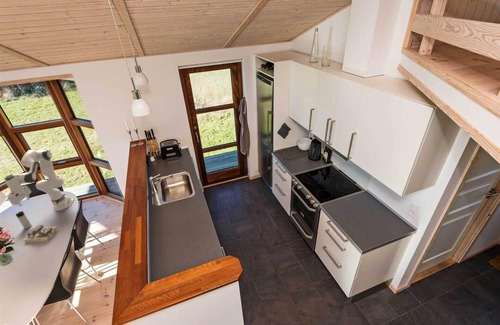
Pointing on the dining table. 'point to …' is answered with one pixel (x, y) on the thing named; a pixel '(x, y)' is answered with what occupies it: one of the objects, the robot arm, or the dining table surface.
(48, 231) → the knob
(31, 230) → the knob
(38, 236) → the panel
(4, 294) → the dining table surface
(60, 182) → the robot arm
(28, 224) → the travel mug
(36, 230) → the knob
